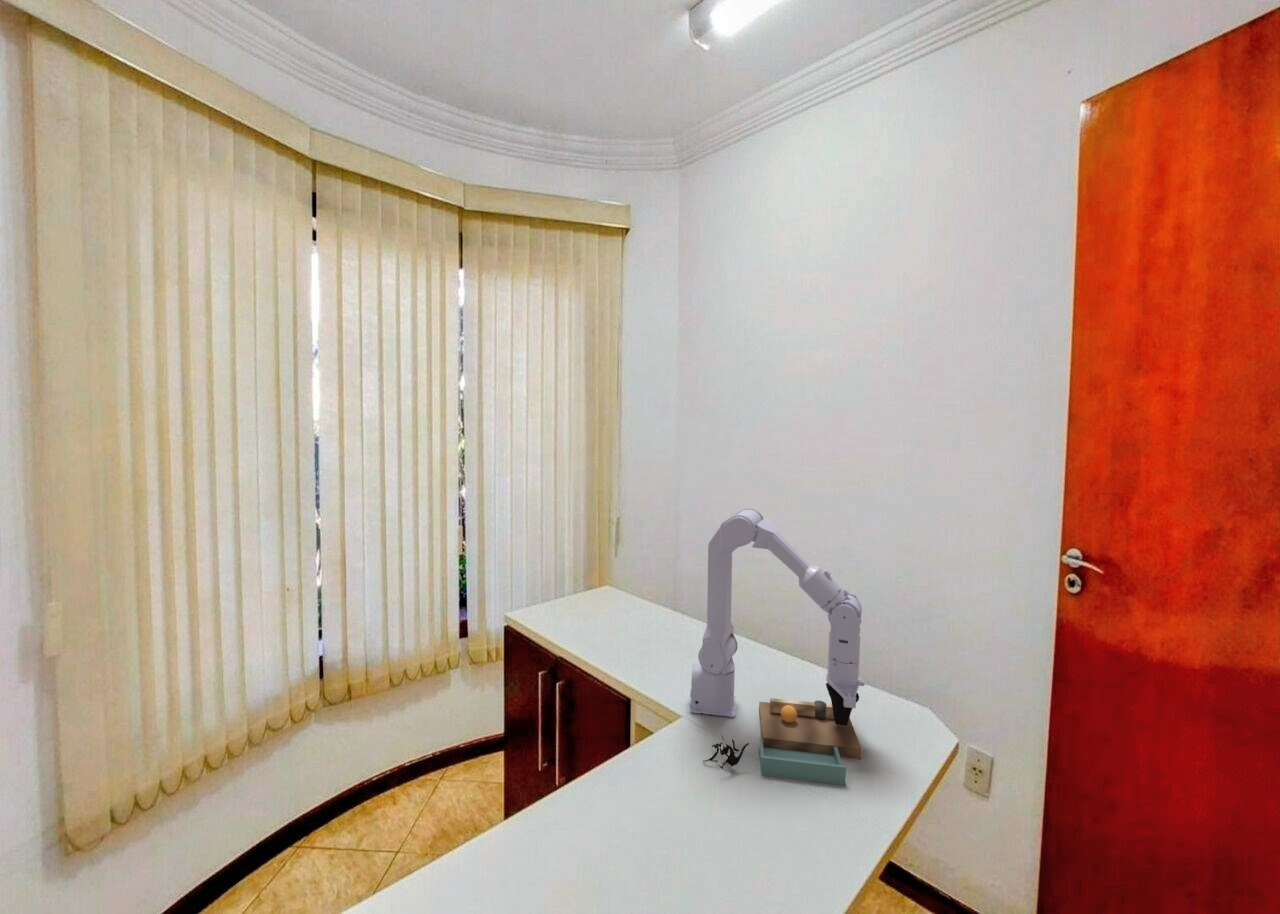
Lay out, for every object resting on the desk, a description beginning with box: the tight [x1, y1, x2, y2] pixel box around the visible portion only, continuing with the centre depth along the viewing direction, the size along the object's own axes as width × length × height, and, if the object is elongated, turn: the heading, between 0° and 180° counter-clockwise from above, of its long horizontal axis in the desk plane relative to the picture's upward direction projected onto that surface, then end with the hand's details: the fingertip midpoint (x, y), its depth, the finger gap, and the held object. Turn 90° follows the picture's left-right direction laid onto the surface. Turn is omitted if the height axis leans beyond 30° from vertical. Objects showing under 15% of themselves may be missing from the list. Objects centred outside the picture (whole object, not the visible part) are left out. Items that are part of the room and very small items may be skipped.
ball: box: [781, 705, 797, 723], centre depth 106 cm, size 3×3×3 cm
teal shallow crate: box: [758, 737, 847, 786], centre depth 96 cm, size 14×8×3 cm, turn 80°
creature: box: [702, 733, 751, 769], centre depth 97 cm, size 8×5×8 cm
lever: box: [769, 697, 834, 719], centre depth 109 cm, size 15×2×3 cm, turn 80°
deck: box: [758, 701, 863, 760], centre depth 106 cm, size 18×13×2 cm
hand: (840, 723), depth 105 cm, fingers closed
